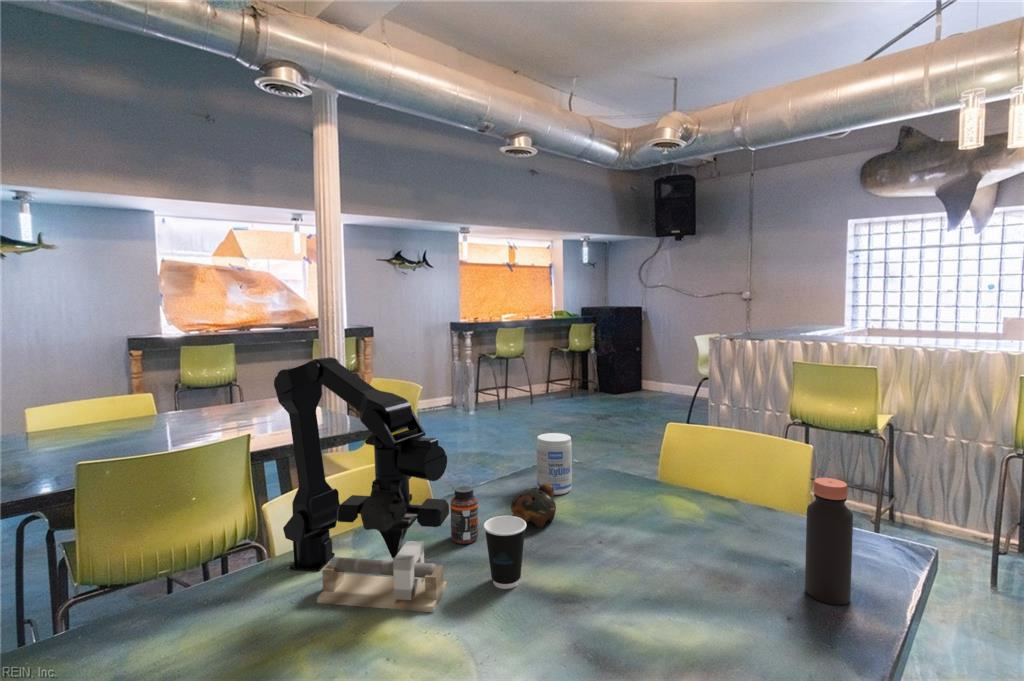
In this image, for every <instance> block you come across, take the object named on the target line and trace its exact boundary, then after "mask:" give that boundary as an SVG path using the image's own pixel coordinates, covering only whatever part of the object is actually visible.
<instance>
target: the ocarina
mask: <svg viewBox="0 0 1024 681" xmlns="http://www.w3.org/2000/svg"><path fill="white" fill-rule="evenodd" d="M510 503H511V504H510V511H511V513H512V514H511V516H515V517H519V518H521V519H523V520H524V521H525V522H526V524H527V523H528V522H532V523H533V524H534V525H535V527H536V528H538V529H542V528H543V526H544V525H546V523H547V522H548V523H551V522H552V521H553V520H554V518H555V515H556V511H557V510H556V509H557V505H556V502H555V500H554V490H553V486H552V485H551V484H549V483H545V484H542V485H541V486H539V488H537V489H536V488H531V489H526V490H525V491H522V492H520V493H519V494H517V495H516V496H515V497H514V499H513V500H512V501H511V502H510Z"/></svg>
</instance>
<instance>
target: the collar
mask: <svg viewBox="0 0 1024 681" xmlns="http://www.w3.org/2000/svg"><path fill="white" fill-rule="evenodd" d="M424 543H425V542H424V541H423V540H422V541H419V540H418V541H417V540H407V541H406V542H405V544H404V545H402V546H401V549H400V551H399V553H398V554H397V555H396V556H395V558H392V561H393V573H394V576H393V577H394V599H400V600H412V598H413V597H414V595H415V594H416V592H417V590H418V589H419V587H420V585H421V584H422V582H423V581H424V580H425V578H418V577H414V565H415V563H416V562H418V563H425V549H424V547H425V544H424Z"/></svg>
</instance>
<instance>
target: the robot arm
mask: <svg viewBox="0 0 1024 681" xmlns="http://www.w3.org/2000/svg"><path fill="white" fill-rule="evenodd" d="M323 386H324V387H325V388H327V389H328V390H329V391H331V392H332V393H333V394H335V395H336V396H337V397H338V398H340V399H341V400H343V401H344V402H345V403H347V404H348V405H350V406H351V407H352V408H354V409H355V410H356V411H357V412H358V414H359V419H360V420H359V421H360V422H361V423H362V424H363V426H364V427H366V429H367V430H368V431H369V432H370V433H371V434H370V435H369V436H368V437H367V438H366V439H365V440H364V443H365V445H368V446H373V452H374V474H375V475H374V476H375V477H374V480H372V482H371V491H370V495H360V494H359V495H357V494H355V495H354V494H352V495H350V496H348V498H347V499H345V500H344V501H343V502H342V503H341V502H340V497H339V495H340V493H339V491H338V489H337V488H332V486H330V484H329V483H328V482H327V481H326V476H325V475H326V474H325V468H324V459H323V453H322V446H321V445H322V444H321V437H320V432H319V431H320V430H319V425H318V424H319V423H318V416H317V415H318V414H317V409H318V406H319V403H320V401H321V399H322V396H323ZM273 387H274V389H275V393H276V396H277V402H278V403H279V404H280V405H281V406H282V408H283V409H284V410H285V411H286V412H287V414H288V416H289V423H290V430H291V431H290V432H291V437H292V443H293V451H294V460H295V467H296V474H297V481H298V487H297V491H296V493H295V495H294V497H293V500H292V516H291V517H290V518H289V520H288V521H287V522H286V524H284V526H283V533H284V536H285V539H286V540H290V541H292V546H293V550H292V551H293V562H292V563H291V564H289V569H290V570H301V571H314V572H318V571H320V570H321V571H322V569H323V568H324V567H325V566H326V565H327V564H328V563H329V562H330V561H331V559H332V558H333V557H336V556H335V555H336V554H335V552H333V539H332V538H331V537H330V530H331V529H335V528H336V527H337V522H339V523H355V521H356V520H357V519H358V518H359V515H360V518H361V521H362V522H361V523H362V527H363V529H364V530H367V531H370V530H376V531H378V532H379V533H380V536H382V539H383V541H384V542H385V544H386V547H387V550H388V552H389V555H390V556H391V558H392V559H394V558H395V556H396V555H397V554H398V553H399V551H400V550H401V549H402V547H403V543H404V541H405V538H406V534H407V532H408V529H410V528H411V526H412V525H413V524H414V523H415V522H416V521H417V523H418V524H419V525H420V526H421V527H425V528H426V527H430V528H438V527H441V526H442V525H443V524H444V522H445V520H446V519H447V517H448V516H450V515H449V514H450V505H449V503H448V502H447V500H446V499H445V498H444V499H443V498H426V499H425V500H424V501H423V503H421V505H420V504H414V503H411V501H412V500H413V494H412V493H410V479H411V478H416V479H421V480H425V481H431V482H436V481H439V479H441V478H442V477H443V476H444V474H445V472H446V469H447V466H448V456H447V453H446V451H445V449H444V448H443V447H442V446H440V445H439V439H438V438H436V437H425V436H426V432H425V429H424V427H423V425H422V423H420V421H419V419H418V418H417V415H416V414H415V412H414V411H413V408H412V404H411V403H410V402H409V401H408V400H407V398H404V397H402V396H400V395H397V394H395V393H394V392H388V391H383V390H379V389H377V388H375V387H373V386H372V385H371V384H369V382H366V381H365V380H364V379H362V378H361V377H359V376H358V375H357V374H355V373H354V372H352V371H350V370H349V369H348V368H347V367H345V366H343V365H342V364H341V363H340V362H339V360H338V358H335V357H333V356H329V357H321V358H313V359H311V360H310V361H308V362H306V363H304V364H302V365H298V366H295V367H292V368H291V367H290V368H284V369H283V368H282V369H281V370H279V372H278V373H277V375H276V376H275V377H274V380H273ZM406 429H407V430H406ZM400 431H401V432H400ZM397 432H398V433H397ZM393 433H394V434H393Z"/></svg>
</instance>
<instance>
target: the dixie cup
mask: <svg viewBox="0 0 1024 681" xmlns="http://www.w3.org/2000/svg"><path fill="white" fill-rule="evenodd" d="M482 527H483V530H484V531H485V539H486V546H487V553H488V560H489V561H488V562H489V568H490V569H489V570H490V576H491V579H492V580H493V581H492V583H493V585H494V586H495V587H496V588H499V589H501V590H502V589H503V590H507V589H514V588H515V587H517V586H518V585H519V584H520V579H521V575H522V565H523V564H522V563H523V553H524V544H525V533H526V532H525V530H526V528H527V523H526V522H525V521H524V520H523V519H521V518H519V517H515V516H512V515H499V516H493V517H491V518H489V519H487V520H486V521H485V522H484V524H483V526H482ZM518 583H519V584H518Z"/></svg>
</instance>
